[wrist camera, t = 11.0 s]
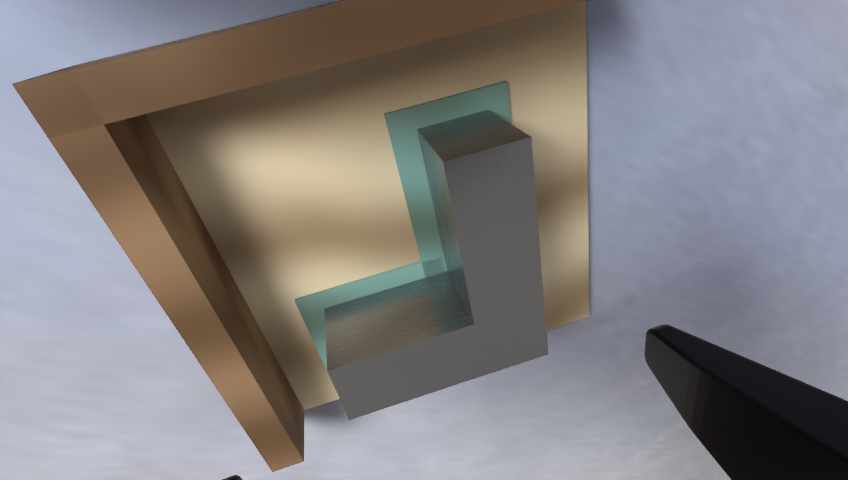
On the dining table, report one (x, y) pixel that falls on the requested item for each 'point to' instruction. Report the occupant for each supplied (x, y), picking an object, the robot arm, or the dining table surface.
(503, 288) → the angle bracket
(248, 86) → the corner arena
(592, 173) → the dining table surface
